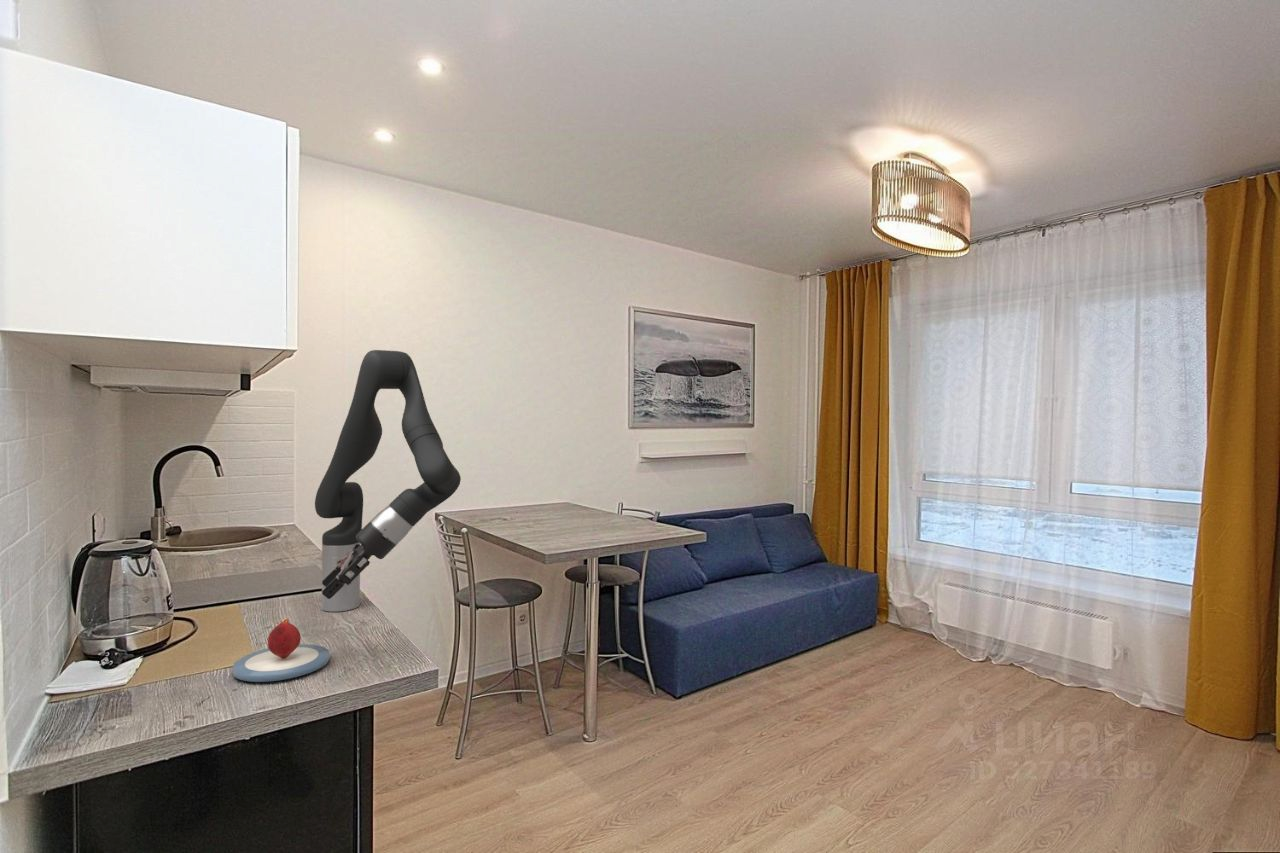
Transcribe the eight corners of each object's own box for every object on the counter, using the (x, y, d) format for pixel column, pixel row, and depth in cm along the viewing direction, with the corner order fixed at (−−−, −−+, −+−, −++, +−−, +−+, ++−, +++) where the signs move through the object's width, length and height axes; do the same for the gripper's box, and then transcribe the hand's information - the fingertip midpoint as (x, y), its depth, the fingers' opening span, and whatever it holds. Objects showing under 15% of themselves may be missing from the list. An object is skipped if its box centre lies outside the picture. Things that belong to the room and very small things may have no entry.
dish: (237, 660, 134) (237, 651, 134) (328, 648, 142) (328, 639, 142) (227, 691, 119) (227, 681, 119) (330, 675, 127) (330, 666, 127)
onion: (285, 664, 127) (286, 624, 127) (260, 662, 128) (260, 621, 128) (306, 654, 133) (307, 615, 133) (282, 652, 134) (282, 613, 134)
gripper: (369, 515, 144) (311, 571, 139) (374, 525, 131) (310, 587, 126) (394, 537, 146) (338, 593, 141) (401, 549, 133) (339, 611, 129)
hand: (325, 590), depth 134 cm, fingers open, 8 cm apart
